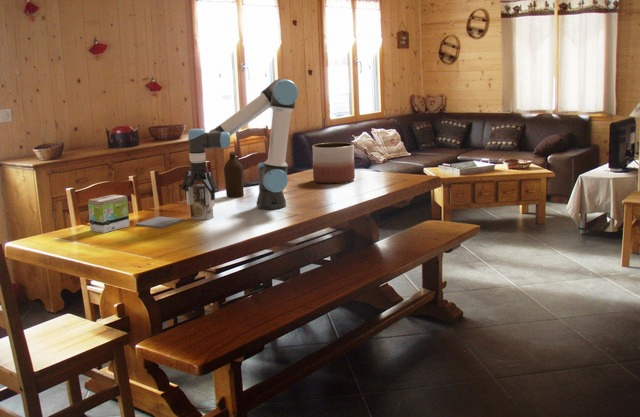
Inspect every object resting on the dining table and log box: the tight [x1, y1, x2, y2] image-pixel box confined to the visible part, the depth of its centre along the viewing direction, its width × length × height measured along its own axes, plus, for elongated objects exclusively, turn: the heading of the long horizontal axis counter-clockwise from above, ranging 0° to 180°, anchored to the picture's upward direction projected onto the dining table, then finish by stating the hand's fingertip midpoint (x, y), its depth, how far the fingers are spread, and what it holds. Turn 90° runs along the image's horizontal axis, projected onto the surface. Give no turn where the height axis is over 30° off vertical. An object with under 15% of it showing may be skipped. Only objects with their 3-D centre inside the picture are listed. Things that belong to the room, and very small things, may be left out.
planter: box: [311, 142, 356, 185], centre depth 410 cm, size 25×25×22 cm
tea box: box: [87, 194, 130, 234], centre depth 310 cm, size 15×10×15 cm
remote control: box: [224, 180, 259, 189], centre depth 409 cm, size 8×32×2 cm, turn 127°
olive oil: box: [223, 150, 245, 199], centre depth 373 cm, size 11×11×25 cm
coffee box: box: [188, 183, 214, 221], centre depth 324 cm, size 9×6×16 cm
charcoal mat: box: [135, 216, 186, 229], centre depth 319 cm, size 16×16×1 cm
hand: (200, 205), depth 324 cm, fingers open, 13 cm apart
